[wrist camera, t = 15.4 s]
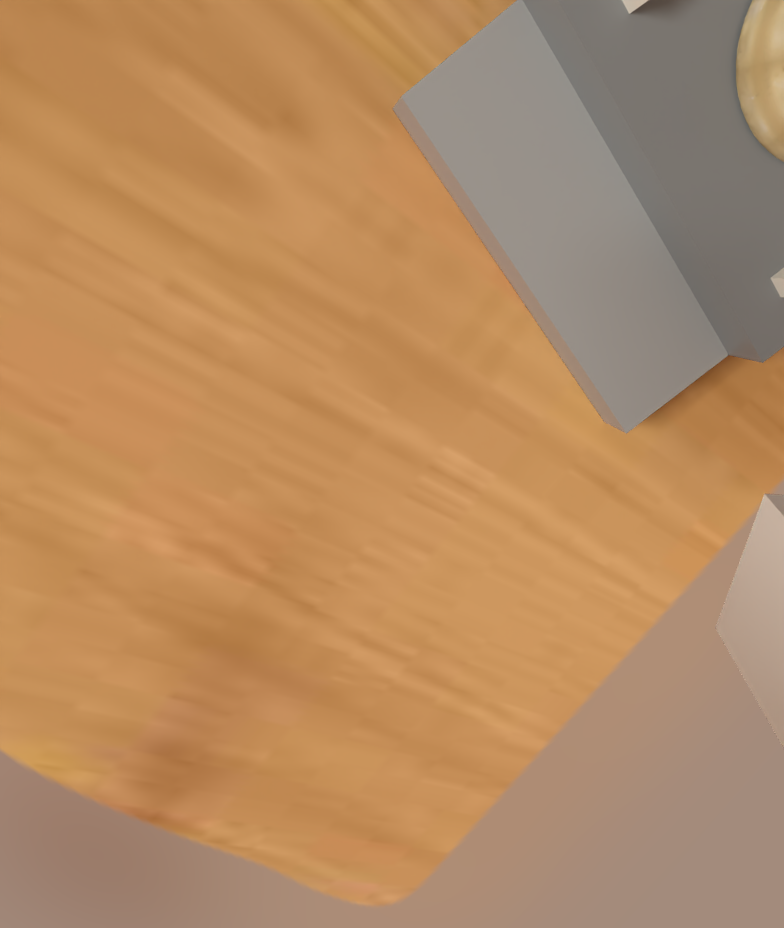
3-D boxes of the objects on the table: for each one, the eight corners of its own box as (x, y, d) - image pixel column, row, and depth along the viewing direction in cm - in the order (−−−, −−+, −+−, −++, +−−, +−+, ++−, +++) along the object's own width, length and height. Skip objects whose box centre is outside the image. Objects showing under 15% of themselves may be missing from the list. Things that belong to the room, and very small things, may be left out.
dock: (392, 108, 30) (418, 71, 24) (811, -239, 29) (953, -373, 23) (603, 421, 36) (669, 456, 30) (964, 144, 34) (1112, 119, 28)
